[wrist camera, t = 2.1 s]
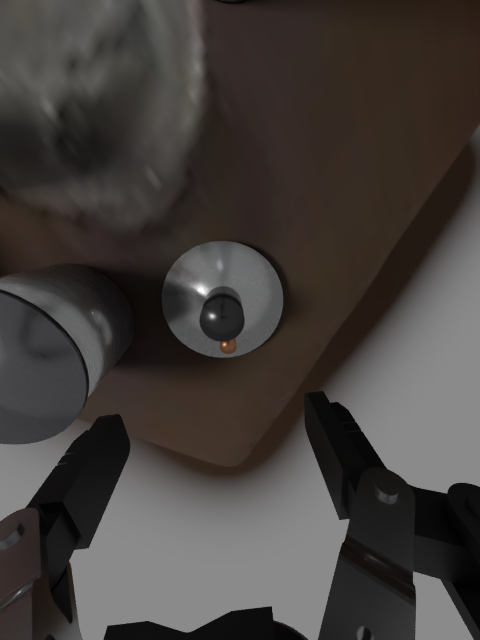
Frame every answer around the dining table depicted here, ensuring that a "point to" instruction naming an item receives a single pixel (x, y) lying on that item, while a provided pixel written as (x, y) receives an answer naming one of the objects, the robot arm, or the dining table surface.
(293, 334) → the dining table surface
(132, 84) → the dining table surface
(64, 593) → the robot arm
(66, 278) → the cooker pot
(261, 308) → the cooker lid
